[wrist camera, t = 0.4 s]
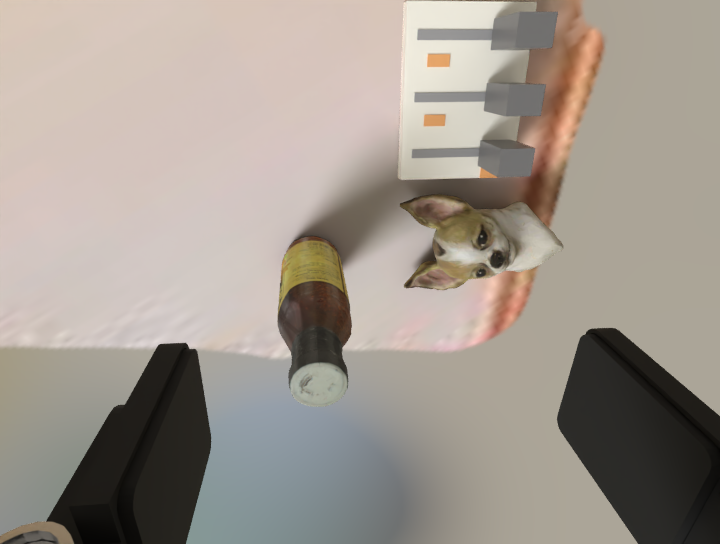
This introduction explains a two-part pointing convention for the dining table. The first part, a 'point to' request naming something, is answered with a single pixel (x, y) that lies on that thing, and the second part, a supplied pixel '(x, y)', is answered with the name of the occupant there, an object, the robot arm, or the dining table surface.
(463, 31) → the switch panel
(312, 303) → the sauce bottle
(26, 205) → the dining table surface
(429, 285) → the ceramic sculpture
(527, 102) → the slider
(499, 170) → the slider
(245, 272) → the dining table surface
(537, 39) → the slider
